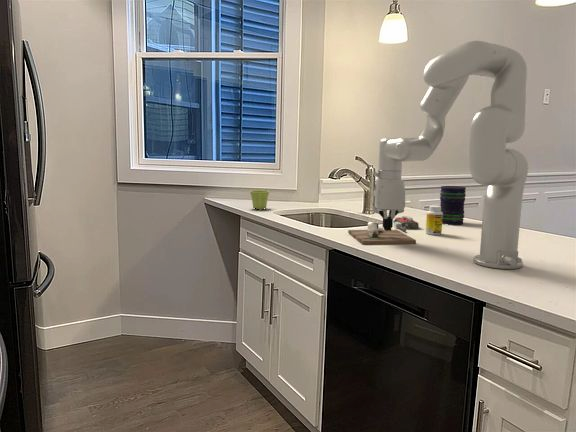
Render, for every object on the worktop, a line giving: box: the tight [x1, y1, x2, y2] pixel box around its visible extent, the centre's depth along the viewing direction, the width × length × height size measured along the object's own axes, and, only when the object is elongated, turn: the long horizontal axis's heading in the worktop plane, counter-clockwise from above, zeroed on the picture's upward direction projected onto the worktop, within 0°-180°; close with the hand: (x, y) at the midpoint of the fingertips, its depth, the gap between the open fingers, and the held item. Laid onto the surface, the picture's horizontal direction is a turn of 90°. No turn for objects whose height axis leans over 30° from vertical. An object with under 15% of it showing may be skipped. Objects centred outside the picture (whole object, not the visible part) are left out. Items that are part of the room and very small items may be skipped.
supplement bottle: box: [425, 205, 443, 236], centre depth 178 cm, size 6×6×10 cm
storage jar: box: [439, 185, 467, 226], centre depth 201 cm, size 10×10×15 cm
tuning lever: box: [367, 221, 384, 237], centre depth 169 cm, size 14×4×4 cm, turn 157°
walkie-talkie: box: [393, 215, 419, 232], centre depth 190 cm, size 9×4×20 cm
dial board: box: [347, 229, 417, 246], centre depth 169 cm, size 19×18×1 cm
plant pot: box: [249, 189, 271, 210], centre depth 234 cm, size 9×9×9 cm
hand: (387, 229), depth 166 cm, fingers closed
